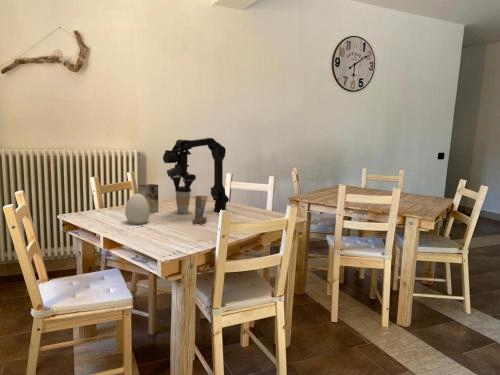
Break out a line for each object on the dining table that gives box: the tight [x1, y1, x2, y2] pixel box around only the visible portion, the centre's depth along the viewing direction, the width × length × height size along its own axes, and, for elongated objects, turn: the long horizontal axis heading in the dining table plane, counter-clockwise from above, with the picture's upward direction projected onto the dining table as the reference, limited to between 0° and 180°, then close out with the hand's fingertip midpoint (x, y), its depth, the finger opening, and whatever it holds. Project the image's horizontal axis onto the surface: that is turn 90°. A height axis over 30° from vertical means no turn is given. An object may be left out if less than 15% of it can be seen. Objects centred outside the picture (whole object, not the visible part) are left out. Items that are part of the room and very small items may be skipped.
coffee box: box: [138, 183, 159, 214], centre depth 218 cm, size 9×6×16 cm
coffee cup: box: [174, 185, 192, 215], centre depth 221 cm, size 9×9×15 cm
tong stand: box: [192, 195, 208, 226], centre depth 198 cm, size 7×5×15 cm
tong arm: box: [200, 195, 209, 218], centre depth 201 cm, size 1×3×12 cm, turn 74°
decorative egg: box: [124, 193, 151, 225], centre depth 194 cm, size 12×12×15 cm
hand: (181, 191), depth 208 cm, fingers open, 9 cm apart
